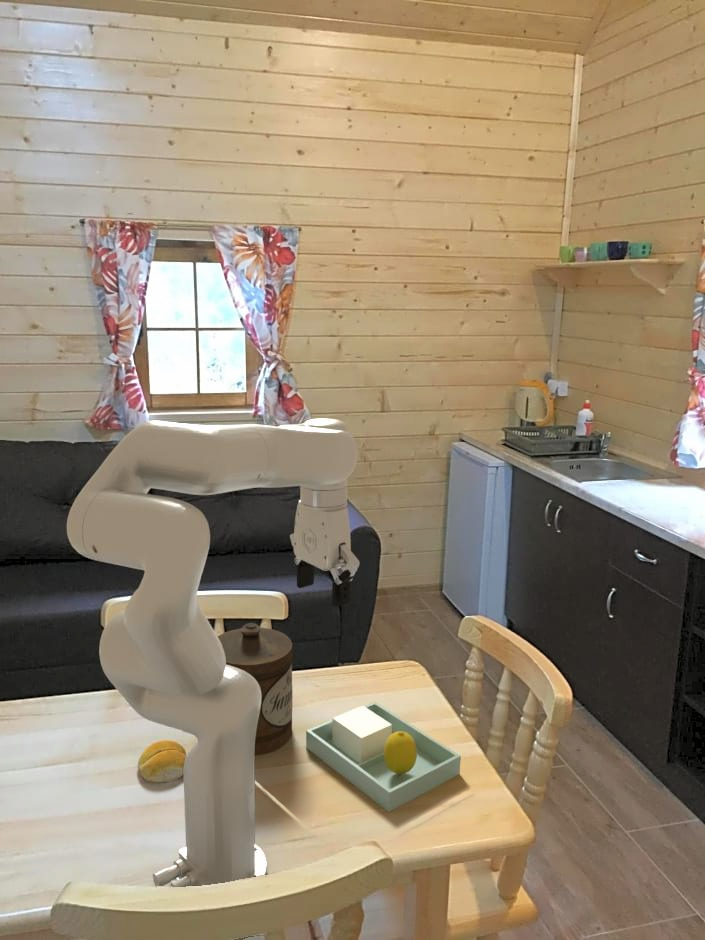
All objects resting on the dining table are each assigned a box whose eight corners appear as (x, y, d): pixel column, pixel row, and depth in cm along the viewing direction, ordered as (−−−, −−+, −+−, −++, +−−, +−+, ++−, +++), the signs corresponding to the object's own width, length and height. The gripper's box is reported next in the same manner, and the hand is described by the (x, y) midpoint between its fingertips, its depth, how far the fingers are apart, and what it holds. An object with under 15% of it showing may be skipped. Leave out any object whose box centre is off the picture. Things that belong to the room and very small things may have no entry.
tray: (388, 815, 125) (389, 792, 124) (306, 750, 142) (306, 730, 141) (459, 776, 135) (460, 755, 134) (374, 720, 152) (375, 701, 151)
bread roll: (182, 749, 142) (181, 729, 141) (193, 777, 134) (192, 756, 133) (134, 759, 139) (133, 738, 138) (142, 789, 131) (141, 767, 130)
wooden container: (289, 760, 139) (289, 643, 134) (204, 758, 139) (200, 642, 134) (294, 714, 154) (295, 607, 148) (217, 713, 153) (215, 606, 148)
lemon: (413, 786, 131) (415, 742, 130) (380, 781, 132) (381, 738, 131) (417, 766, 137) (419, 724, 135) (385, 762, 138) (387, 720, 136)
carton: (360, 764, 137) (361, 738, 136) (332, 743, 143) (332, 718, 142) (391, 749, 142) (392, 724, 140) (362, 729, 148) (362, 705, 146)
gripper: (274, 487, 133) (274, 584, 137) (338, 512, 120) (337, 618, 124) (310, 481, 138) (310, 574, 142) (376, 504, 125) (373, 606, 129)
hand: (322, 594), depth 133 cm, fingers open, 9 cm apart
